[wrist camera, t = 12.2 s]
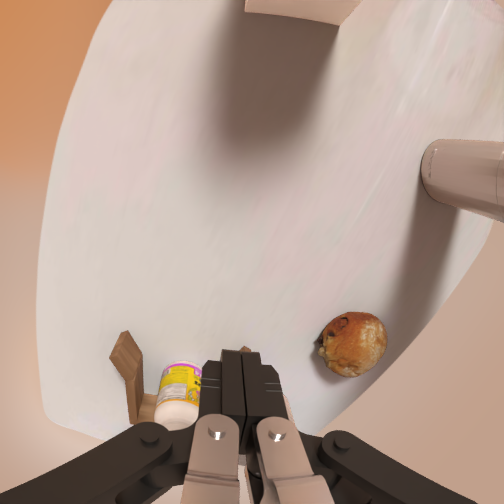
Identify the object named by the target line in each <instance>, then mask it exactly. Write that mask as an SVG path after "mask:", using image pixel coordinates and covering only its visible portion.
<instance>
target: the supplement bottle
mask: <svg viewBox="0 0 504 504" xmlns="http://www.w3.org/2000/svg"><path fill="white" fill-rule="evenodd" d="M201 374H202V368H201V367H200V366H198V365H197V364H195V363H192V362H189V361H176V362H173V363H171V364H169V365H168V366H167V367H166V368H165V369H164V371H163V374H162V378H161V383H160V388H159V393H158V398H157V403H156V408H155V414H154V421H155V423H159V424H161V425H163V426H164V427H166V428H167V429H168V430H169V431H172V430H180V429H184V428H187V427H189V426H191V425H192V424H193V423H194V422H195V421H196V420H197V418H198V412H199V399H200V386H201Z"/></svg>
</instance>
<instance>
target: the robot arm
mask: <svg viewBox="0 0 504 504" xmlns="http://www.w3.org/2000/svg"><path fill="white" fill-rule="evenodd" d="M421 174H422V180H423V184H424V186H425V189H426V191H427V192H428V194H429V195H430V196H431V197H432V198H433V199H434V200H436V201H439V202H442V203H445V204H448V205H452V206H455V207H458V208H461V209H464V210H467V211H470V212H473V213H477V214H480V215H483V216H486V217H489V218H491V219H494V220H497V221H500V222H503V223H504V142H494V141H477V140H454V139H441V140H437V141H434V142H433V143H432V144H430V145H429V147H428V148H427V149H426V151H425V153H424V156H423V159H422V166H421ZM238 454H243V455H246V462H247V463H246V466H245V477H246V482H247V488H248V493H249V498H250V503H251V504H477V503H476V502H475V501H473V500H470V499H468V498H466V497H464V496H462V495H460V494H458V493H456V492H453V491H451V490H449V489H447V488H445V487H443V486H441V485H439V484H437V483H435V482H434V481H432V480H430V479H428V478H426V477H424V476H422V475H420V474H418V473H416V472H415V471H413V470H411V469H409V468H408V467H406V466H404V465H402V464H401V463H399V462H397V461H395V460H393V459H392V458H390V457H388V456H387V455H385V454H383V453H381V452H380V451H378V450H376V449H375V448H373V447H372V446H370V445H369V444H367V443H365V442H364V441H362V440H361V439H359V438H357V437H356V436H354V435H353V434H351V433H349V432H346V431H340V430H339V431H338V430H336V431H331V432H329V433H327V434H326V435H325V436H324V437H323V438H322V437H317V436H312V435H307V434H304V433H302V432H300V431H298V430H297V428H296V426H295V425H294V424H293V423H292V422H290V421H289V418H288V414H287V410H286V405H285V401H284V397H283V392H282V388H281V385H280V380H279V375H278V373H277V372H276V370H275V369H274V368H273V367H272V366H271V365H262V364H261V358H260V353H259V352H248V351H241V353H240V351H235V350H225V349H222V352H221V359H220V361H211V360H208V361H207V362H206V363H205V365H204V366H203V367H202V374H201V386H200V399H199V412H198V418H197V420H196V421H195V422H194V423H193V424H192V425H191V426H189V427H187V428H184V429H180V430H172V431H169V430H168V429H167V428H166V427H164V426H163V425H161V424H159V423H155V422H140V423H137V424H135V425H134V426H132V427H130V428H129V429H127V430H125V431H124V432H122V433H120V434H118V435H117V436H115V437H113V438H111V439H110V440H108V441H106V442H104V443H103V444H101V445H99V446H97V447H95V448H94V449H92V450H90V451H88V452H87V453H85V454H83V455H81V456H79V457H77V458H75V459H73V460H71V461H69V462H67V463H65V464H63V465H62V466H59V467H57V468H56V469H53V470H51V471H49V472H47V473H45V474H43V475H41V476H39V477H37V478H34V479H32V480H30V481H28V482H26V483H24V484H21V485H19V486H17V487H15V488H12V489H10V490H8V491H5V492H3V493H1V494H0V504H151V503H152V502H153V501H155V500H156V499H157V498H159V497H160V496H161V495H163V494H164V493H166V492H167V491H168V490H169V489H170V488H172V486H177V485H184V486H183V492H182V497H181V504H239V495H240V483H239V480H238Z"/></svg>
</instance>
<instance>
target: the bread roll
mask: <svg viewBox="0 0 504 504" xmlns="http://www.w3.org/2000/svg"><path fill="white" fill-rule="evenodd" d="M317 341H318V342H319V344H320V349H319V351H318V355H319V356H322V357H323V358H324V360H325V363H326V367H328V368H330V369H331V370H332V371H333V372H335V373H337V374H339V375H341V376H344V377H357V376H359V375H362V374H364V373H365V372H367V371H368V370H370V369H371V368H372V367H374V366H375V365H376V363H377V362H378V361H379V359H380V358H381V357H382V356H383V354H384V352H385V350H386V346H387V332H386V329H385V326H384V325H383V323H382V322H381V321H380V320H379V319H378V318H377V317H376V316H374V315H372V314H369V313H364V312H361V313H360V312H347V313H345V314H342V315H340V316H338V317H336V318H335V319H333V320H332V321H331V322H330V323H329V324H328V325H327V326H326V328H325V330H324V331H323V333H322V335H321V337H319V338H318V339H317Z"/></svg>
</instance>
